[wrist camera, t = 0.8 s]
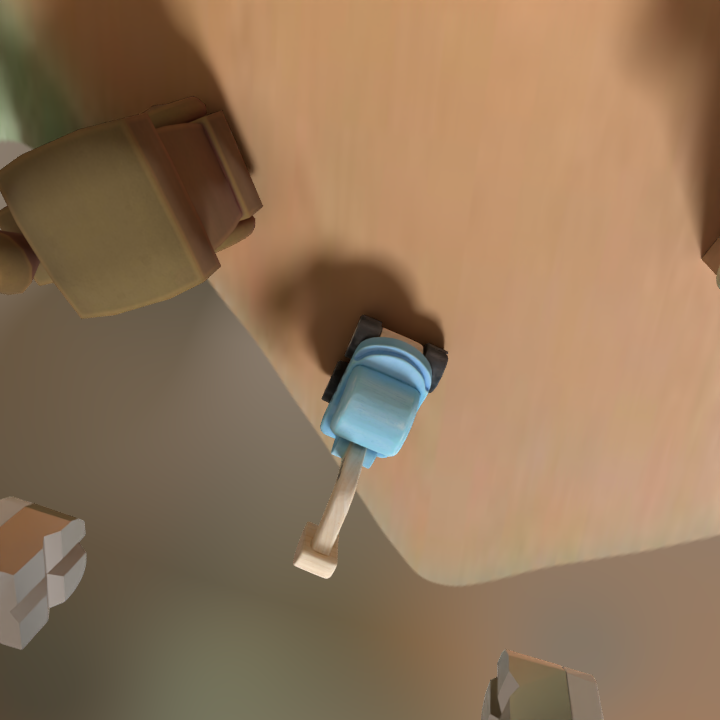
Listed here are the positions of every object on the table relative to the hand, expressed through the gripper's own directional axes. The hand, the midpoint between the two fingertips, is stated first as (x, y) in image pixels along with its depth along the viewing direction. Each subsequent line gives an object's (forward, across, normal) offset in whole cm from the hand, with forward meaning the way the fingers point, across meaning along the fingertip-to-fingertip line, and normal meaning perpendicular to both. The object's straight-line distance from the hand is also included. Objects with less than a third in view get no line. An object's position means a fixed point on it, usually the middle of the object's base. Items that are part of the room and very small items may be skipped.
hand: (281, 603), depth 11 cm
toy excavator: (+42, +3, +16) cm, 45 cm away
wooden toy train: (+39, +24, +2) cm, 46 cm away
